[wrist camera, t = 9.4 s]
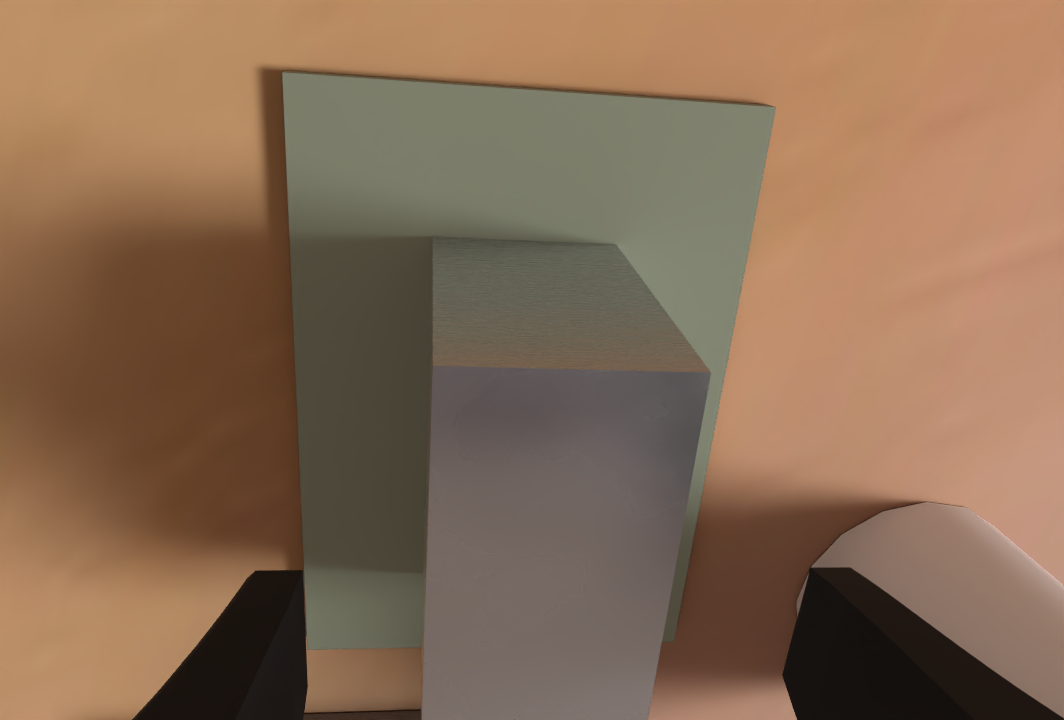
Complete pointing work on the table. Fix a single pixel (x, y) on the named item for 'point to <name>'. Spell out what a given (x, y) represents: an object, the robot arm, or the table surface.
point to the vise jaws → (366, 716)
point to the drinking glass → (965, 589)
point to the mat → (406, 274)
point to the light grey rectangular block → (551, 481)
